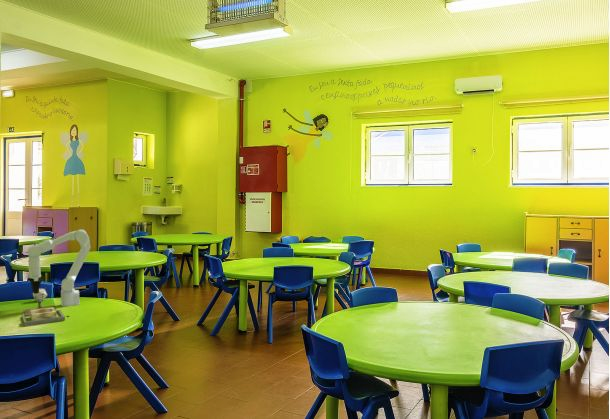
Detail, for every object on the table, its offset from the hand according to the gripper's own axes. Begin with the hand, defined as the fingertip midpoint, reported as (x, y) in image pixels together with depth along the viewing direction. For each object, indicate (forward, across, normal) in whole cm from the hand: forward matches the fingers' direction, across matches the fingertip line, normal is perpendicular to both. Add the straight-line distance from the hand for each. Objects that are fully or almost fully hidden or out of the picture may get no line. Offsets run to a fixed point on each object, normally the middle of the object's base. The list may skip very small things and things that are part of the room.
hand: (35, 292), depth 286 cm
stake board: (+10, +8, +1) cm, 12 cm away
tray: (+10, +26, +1) cm, 28 cm away
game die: (+10, -24, +4) cm, 26 cm away
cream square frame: (+9, +26, +1) cm, 28 cm away
